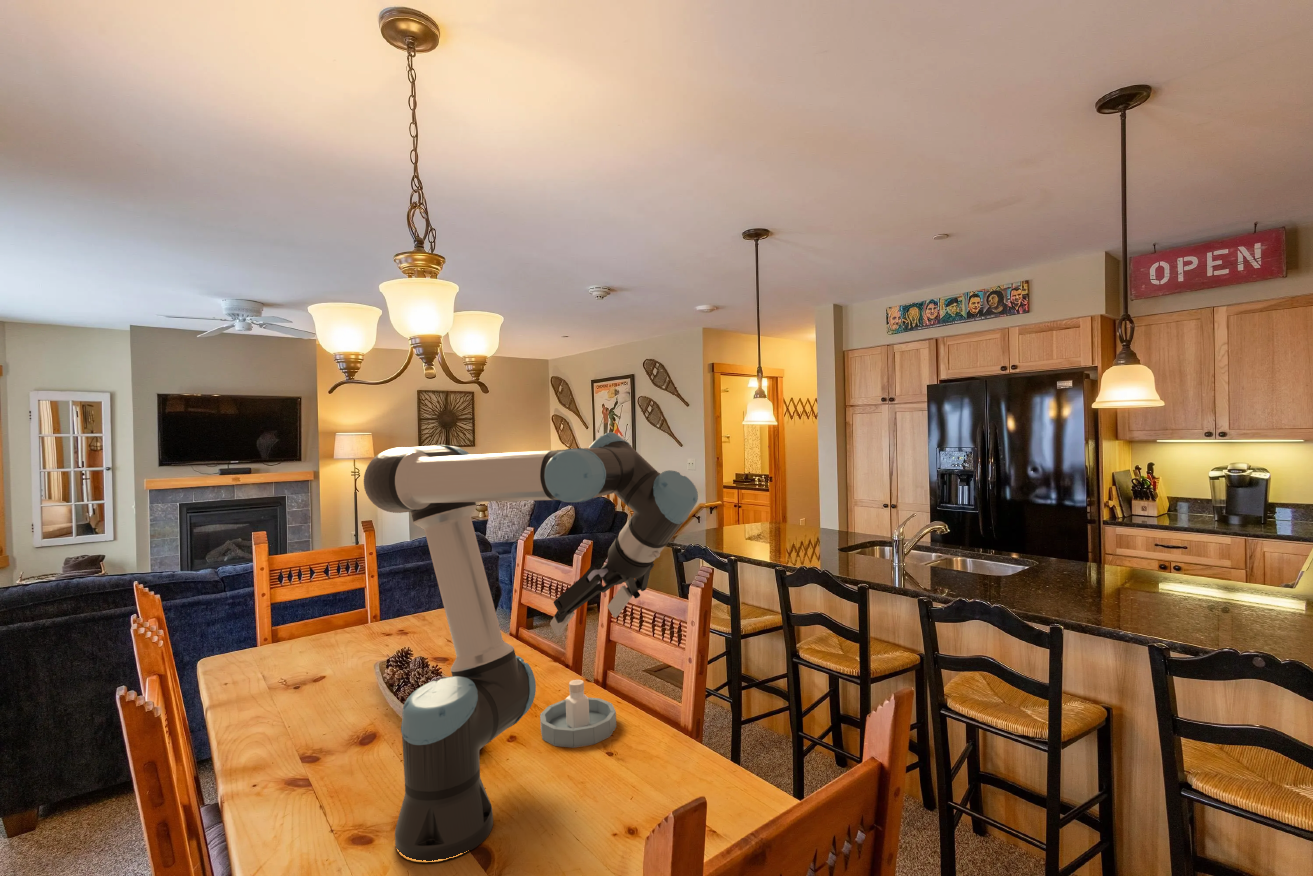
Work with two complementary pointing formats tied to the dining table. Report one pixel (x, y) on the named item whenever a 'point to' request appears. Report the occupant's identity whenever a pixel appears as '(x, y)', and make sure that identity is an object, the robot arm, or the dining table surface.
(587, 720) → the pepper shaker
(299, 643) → the dining table surface
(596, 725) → the bowl
